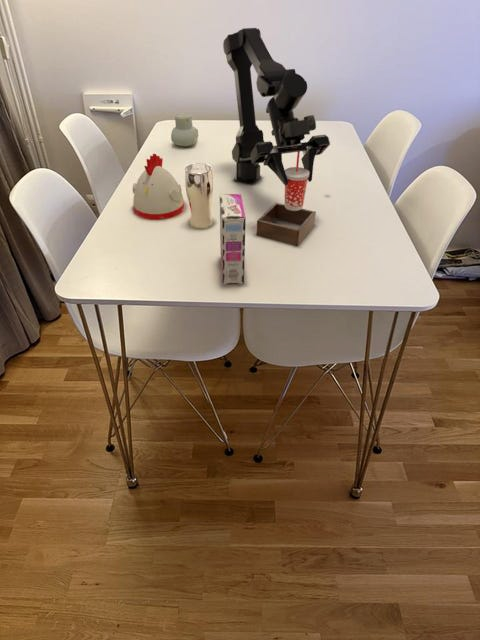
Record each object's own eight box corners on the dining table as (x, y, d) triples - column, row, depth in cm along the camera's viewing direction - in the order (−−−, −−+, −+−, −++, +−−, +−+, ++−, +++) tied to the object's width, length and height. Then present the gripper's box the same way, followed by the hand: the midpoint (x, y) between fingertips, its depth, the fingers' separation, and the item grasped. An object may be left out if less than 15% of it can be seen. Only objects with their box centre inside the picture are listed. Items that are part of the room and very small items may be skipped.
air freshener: (177, 138, 172) (175, 110, 166) (199, 139, 171) (198, 111, 165) (170, 148, 164) (167, 119, 157) (193, 150, 163) (191, 120, 156)
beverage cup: (300, 214, 113) (305, 158, 103) (277, 208, 115) (281, 152, 106) (309, 204, 117) (316, 149, 107) (287, 198, 119) (292, 144, 110)
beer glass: (218, 219, 124) (216, 164, 114) (208, 231, 119) (206, 175, 109) (194, 215, 126) (191, 161, 116) (184, 227, 121) (179, 171, 111)
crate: (256, 235, 117) (256, 220, 115) (274, 216, 125) (275, 202, 122) (297, 246, 113) (299, 231, 111) (314, 226, 121) (316, 211, 118)
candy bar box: (245, 284, 101) (246, 217, 91) (222, 285, 101) (221, 218, 90) (241, 257, 110) (241, 192, 99) (220, 258, 109) (218, 193, 99)
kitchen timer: (125, 214, 126) (115, 160, 116) (149, 194, 136) (142, 142, 126) (170, 223, 122) (164, 168, 113) (192, 201, 132) (188, 149, 122)
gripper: (256, 106, 101) (272, 174, 100) (332, 98, 106) (348, 163, 105) (243, 131, 112) (258, 193, 111) (312, 123, 116) (327, 182, 116)
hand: (298, 183), depth 110 cm, fingers closed on beverage cup, 6 cm apart
